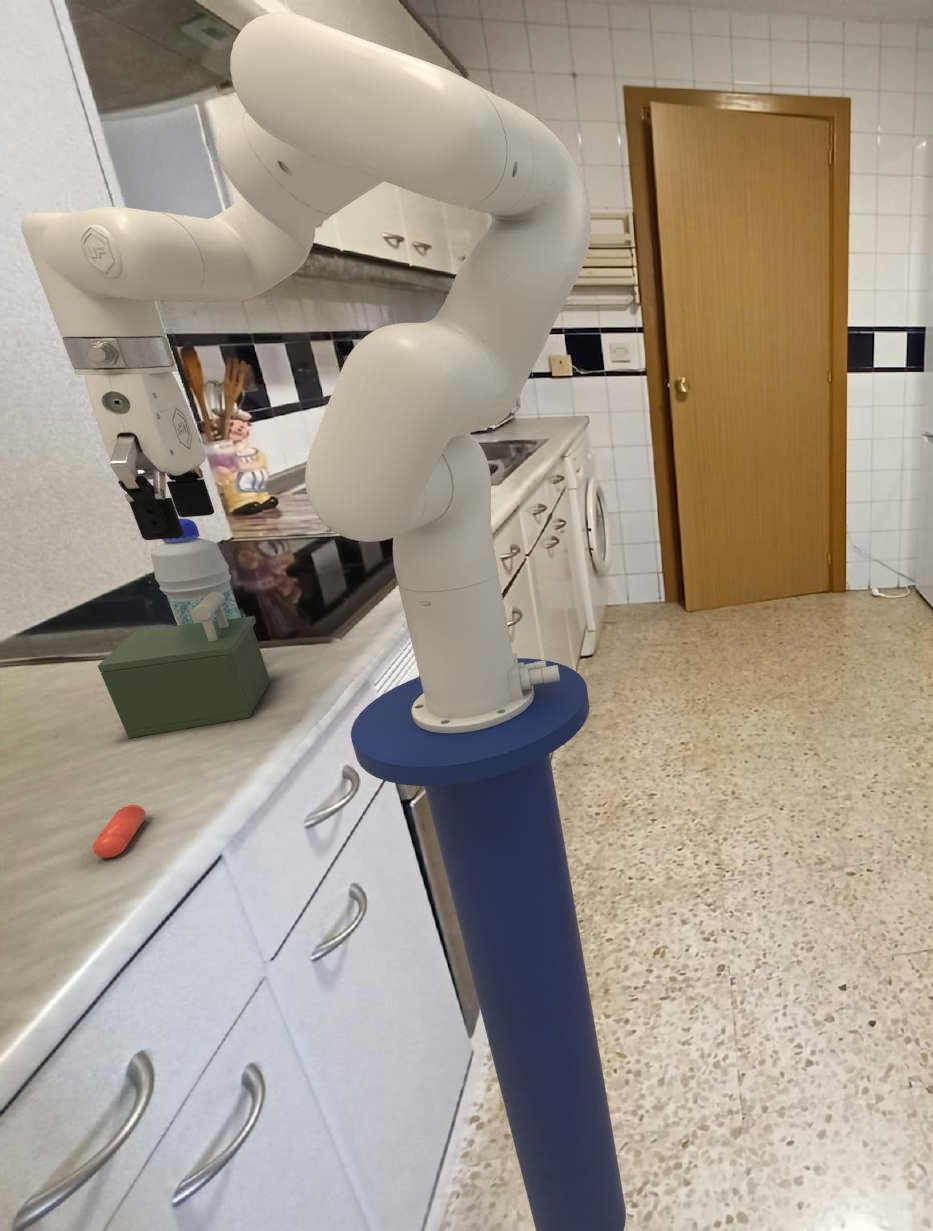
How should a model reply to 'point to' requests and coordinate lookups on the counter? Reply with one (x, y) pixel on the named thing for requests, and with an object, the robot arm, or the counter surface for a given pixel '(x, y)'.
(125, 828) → the red jelly bean
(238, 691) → the bin
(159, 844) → the counter surface
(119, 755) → the counter surface
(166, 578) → the bottle
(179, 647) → the bin lid
